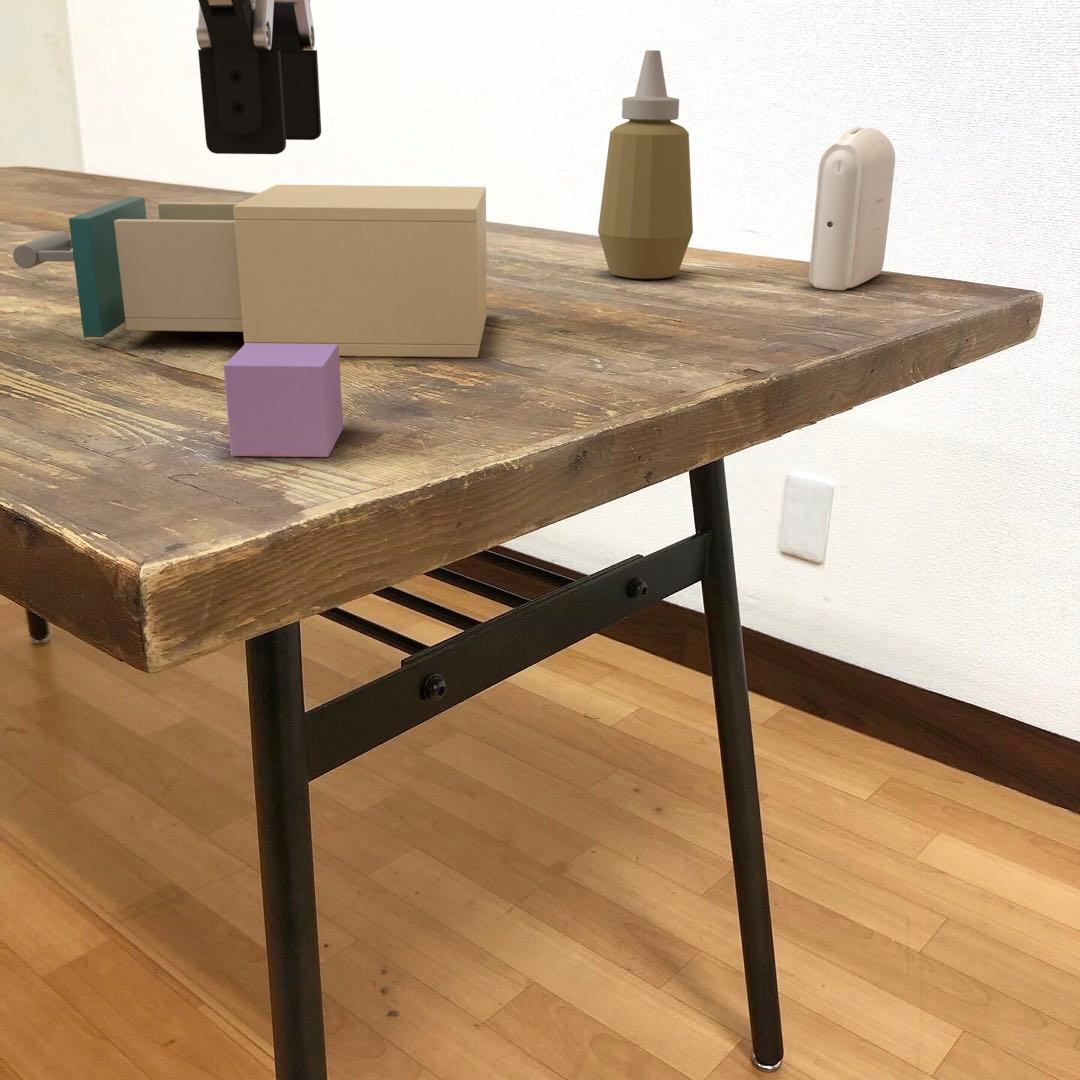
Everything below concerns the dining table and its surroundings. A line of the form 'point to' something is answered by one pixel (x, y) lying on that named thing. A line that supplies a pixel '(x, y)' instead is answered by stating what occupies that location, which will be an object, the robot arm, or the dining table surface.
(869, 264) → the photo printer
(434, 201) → the drawer cabinet
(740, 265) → the dining table surface
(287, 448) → the lavender foam cube
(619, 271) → the squeeze bottle
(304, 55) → the robot arm
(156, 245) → the drawer
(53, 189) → the dining table surface
